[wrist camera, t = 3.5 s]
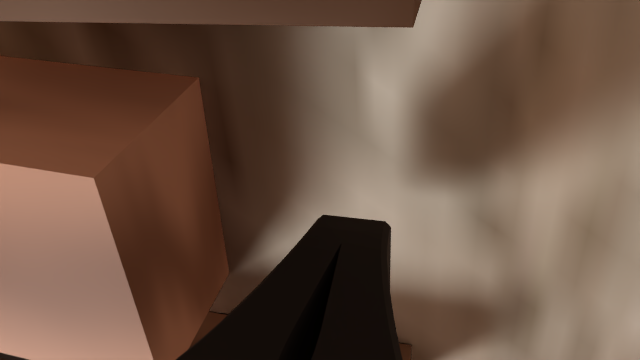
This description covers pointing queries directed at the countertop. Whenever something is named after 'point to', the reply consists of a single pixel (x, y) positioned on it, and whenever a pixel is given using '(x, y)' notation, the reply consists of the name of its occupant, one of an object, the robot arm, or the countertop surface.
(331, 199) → the countertop surface
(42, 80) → the block
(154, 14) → the trap lane
